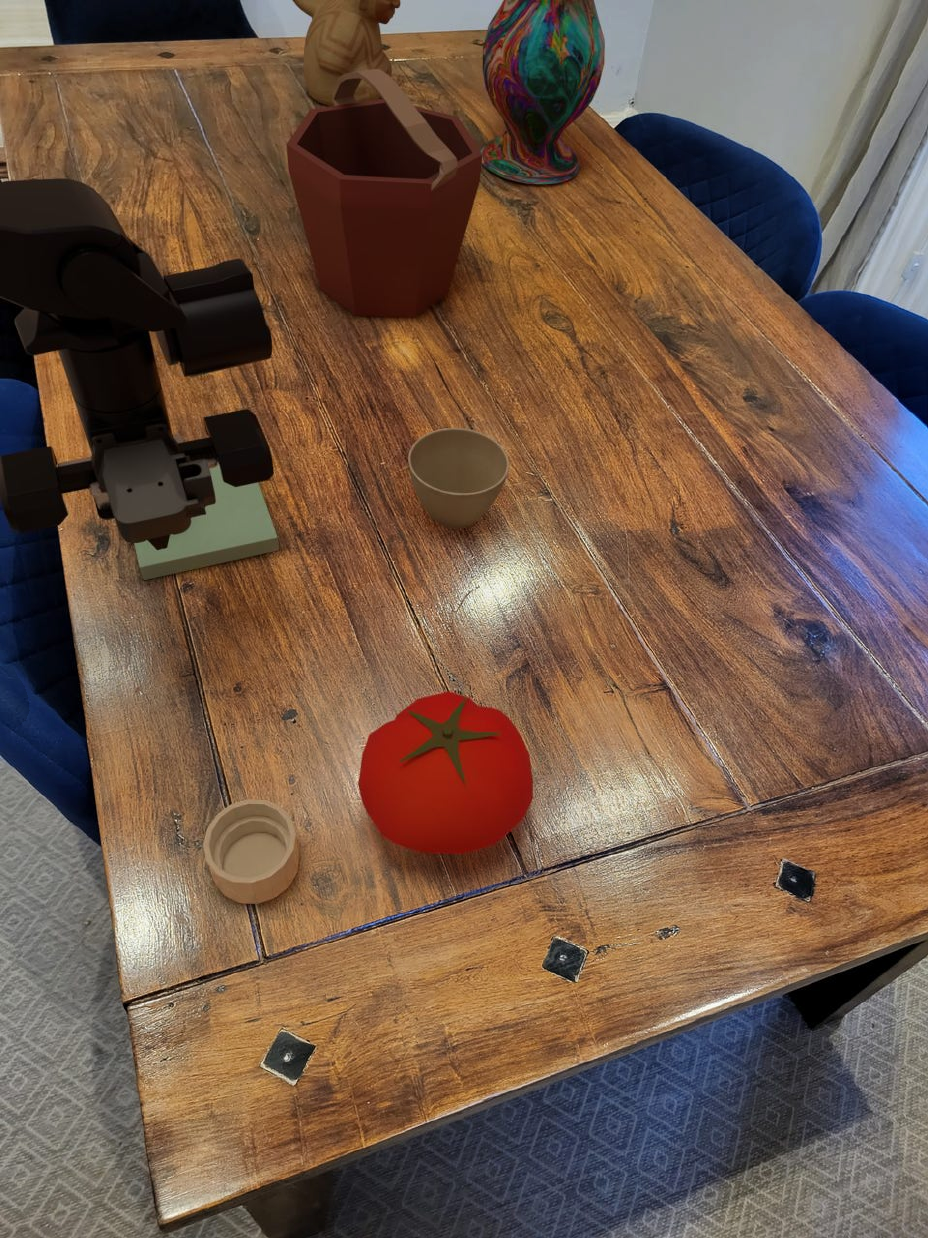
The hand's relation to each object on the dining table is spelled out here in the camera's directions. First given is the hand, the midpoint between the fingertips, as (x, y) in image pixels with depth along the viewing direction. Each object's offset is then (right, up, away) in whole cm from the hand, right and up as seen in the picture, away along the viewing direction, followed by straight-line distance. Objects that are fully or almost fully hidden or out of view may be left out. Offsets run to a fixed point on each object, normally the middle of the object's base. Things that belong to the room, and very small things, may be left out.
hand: (161, 545), depth 71 cm
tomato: (+23, -21, 0) cm, 31 cm away
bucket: (+13, +39, +46) cm, 62 cm away
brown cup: (+24, +5, +21) cm, 32 cm away
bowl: (+9, -25, -5) cm, 27 cm away
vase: (+35, +69, +73) cm, 106 cm away
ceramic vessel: (+4, +86, +84) cm, 120 cm away
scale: (-2, +4, +17) cm, 17 cm away
